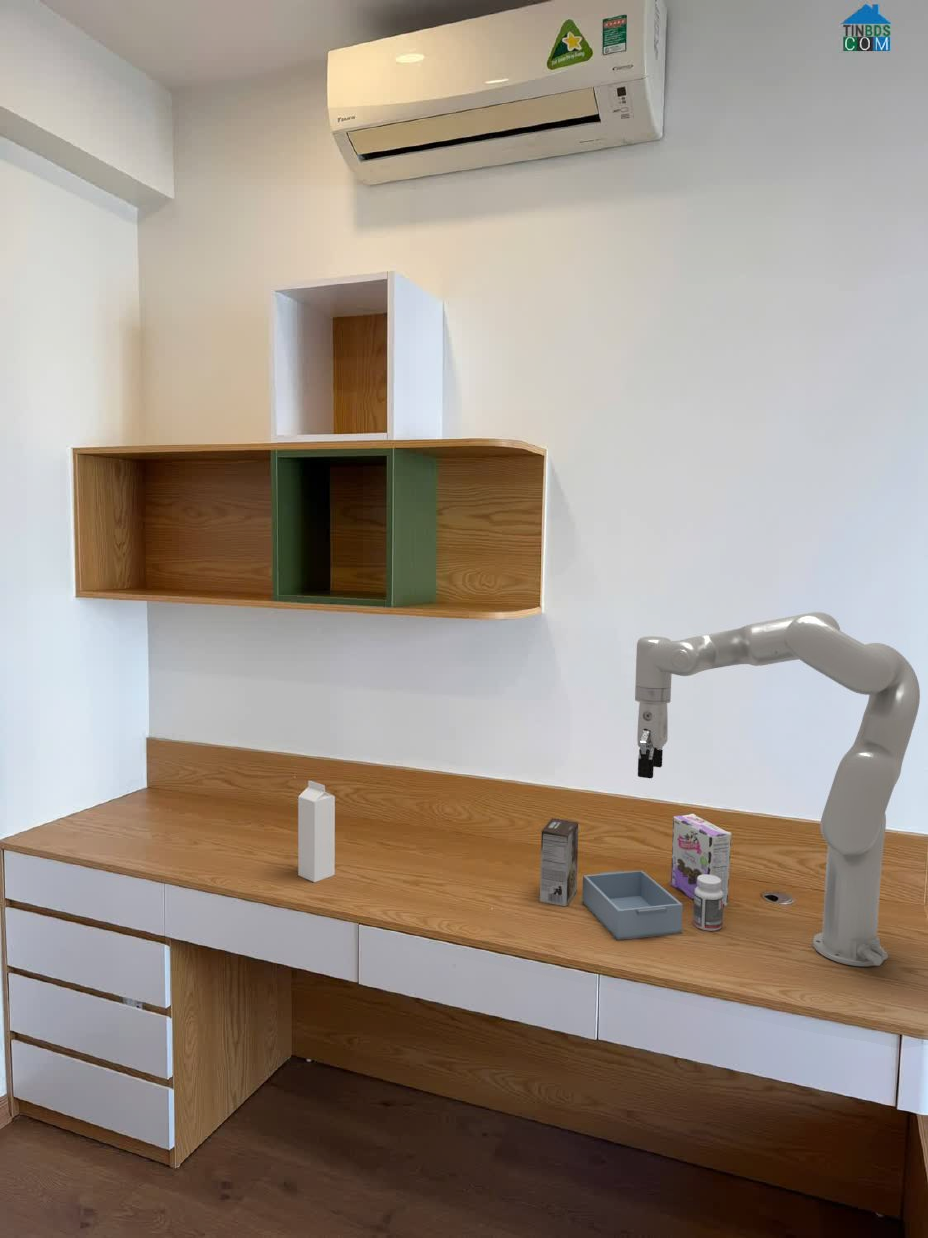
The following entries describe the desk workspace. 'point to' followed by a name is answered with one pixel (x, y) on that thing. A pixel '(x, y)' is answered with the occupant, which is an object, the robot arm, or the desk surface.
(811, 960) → the desk surface
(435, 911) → the desk surface
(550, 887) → the coffee box
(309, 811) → the milk
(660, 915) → the tote
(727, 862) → the candy box
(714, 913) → the pill bottle
